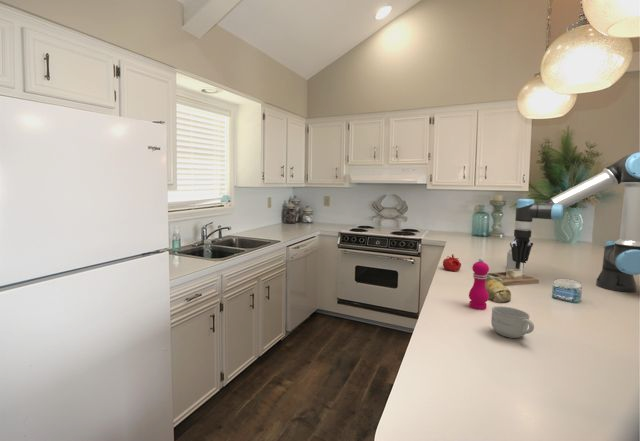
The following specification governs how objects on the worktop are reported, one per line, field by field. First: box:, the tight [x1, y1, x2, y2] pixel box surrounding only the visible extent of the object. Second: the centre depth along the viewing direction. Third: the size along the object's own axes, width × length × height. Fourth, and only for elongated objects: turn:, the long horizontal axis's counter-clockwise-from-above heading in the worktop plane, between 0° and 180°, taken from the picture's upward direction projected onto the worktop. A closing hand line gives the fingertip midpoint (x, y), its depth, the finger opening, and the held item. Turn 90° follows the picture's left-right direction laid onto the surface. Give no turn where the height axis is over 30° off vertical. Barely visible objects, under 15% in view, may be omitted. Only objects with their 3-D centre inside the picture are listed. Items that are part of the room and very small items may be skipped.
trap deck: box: [485, 271, 540, 287], centre depth 178 cm, size 16×25×4 cm, turn 107°
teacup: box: [490, 305, 535, 339], centre depth 110 cm, size 14×11×8 cm
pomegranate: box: [442, 254, 462, 272], centre depth 197 cm, size 10×10×9 cm
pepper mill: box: [468, 257, 490, 311], centre depth 136 cm, size 7×7×20 cm
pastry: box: [485, 279, 512, 304], centre depth 149 cm, size 14×12×8 cm
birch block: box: [505, 269, 524, 280], centre depth 175 cm, size 5×5×4 cm
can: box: [506, 249, 516, 270], centre depth 200 cm, size 8×8×12 cm
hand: (518, 274), depth 176 cm, fingers closed
